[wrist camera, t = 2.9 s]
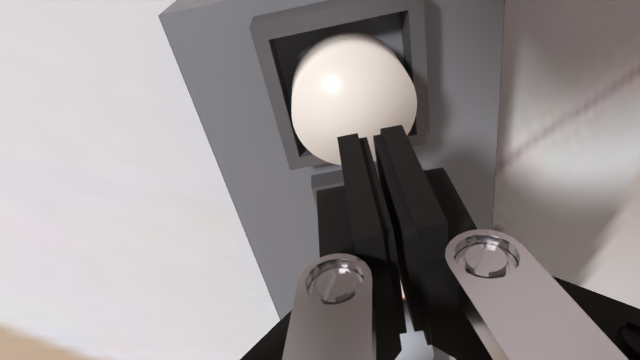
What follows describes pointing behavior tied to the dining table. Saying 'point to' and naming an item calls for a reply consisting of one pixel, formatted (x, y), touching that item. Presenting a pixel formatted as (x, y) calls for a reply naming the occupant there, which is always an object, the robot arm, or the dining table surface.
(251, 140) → the switch panel
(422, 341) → the grey dome
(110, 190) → the dining table surface
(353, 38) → the white dome button
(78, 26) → the dining table surface
